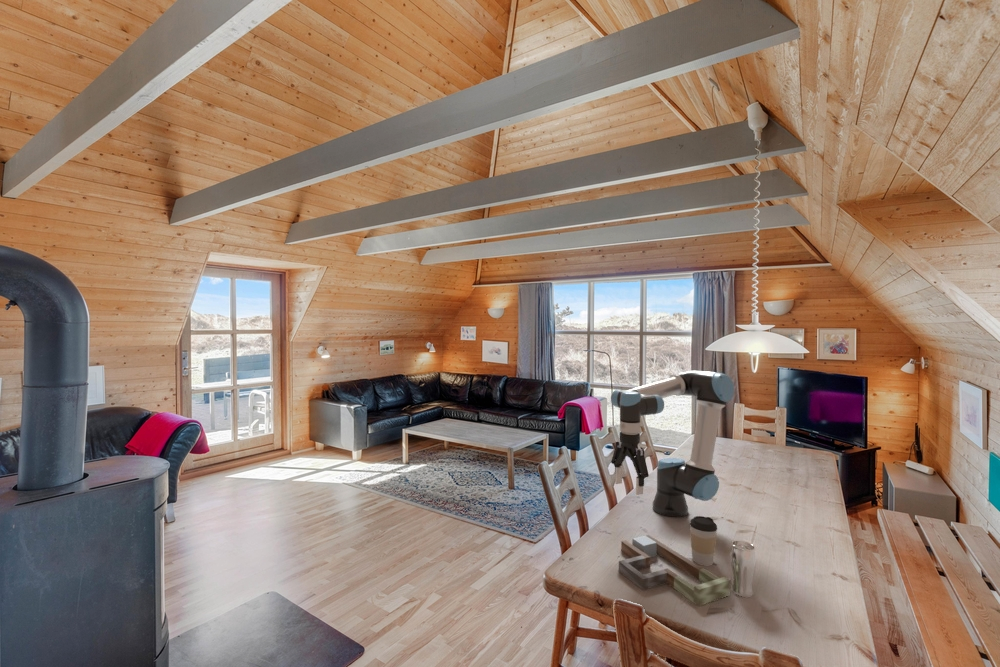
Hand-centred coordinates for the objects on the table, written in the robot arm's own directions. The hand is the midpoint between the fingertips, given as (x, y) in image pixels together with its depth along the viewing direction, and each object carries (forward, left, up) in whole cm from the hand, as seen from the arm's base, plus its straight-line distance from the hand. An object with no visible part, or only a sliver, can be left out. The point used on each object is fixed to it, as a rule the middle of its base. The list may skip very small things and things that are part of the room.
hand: (628, 488), depth 177 cm
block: (0, +9, -21) cm, 23 cm away
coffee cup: (-16, +21, -21) cm, 34 cm away
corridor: (+5, +22, -21) cm, 31 cm away
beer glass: (-12, +40, -21) cm, 47 cm away
